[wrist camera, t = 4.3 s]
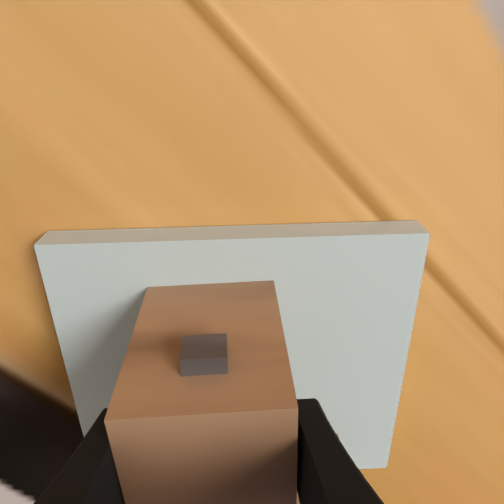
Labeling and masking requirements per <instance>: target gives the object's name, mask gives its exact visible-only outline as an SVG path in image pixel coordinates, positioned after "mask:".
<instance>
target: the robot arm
mask: <svg viewBox="0 0 504 504" xmlns="http://www.w3.org/2000/svg"><path fill="white" fill-rule="evenodd" d="M297 404H298V451H297V493H298V497H299V502H300V504H384V503H383V502H382V500H381V499H380V498H379V497H378V495H377V494H376V493H375V491H374V490H373V488H372V487H371V486H370V484H369V483H368V482H367V480H366V479H365V478H364V476H363V475H362V473H361V472H360V470H359V469H358V468H357V466H356V465H355V463H354V461H353V460H352V458H351V457H350V455H349V454H348V452H347V451H346V449H345V448H344V446H343V445H342V443H341V441H340V440H339V438H338V436H337V435H336V433H335V431H334V430H333V428H332V426H331V424H330V423H329V421H328V419H327V417H326V415H325V413H324V411H323V409H322V407H321V405H320V403H319V401H318V400H317V399H315V398H310V399H297ZM107 409H108V408H105V409H103V410H102V411H101V413H100V414H99V416H98V417H97V419H96V420H95V422H94V423H93V425H92V426H91V428H90V429H89V431H88V432H87V434H86V435H85V437H84V438H83V440H82V441H81V442H80V444H79V445H78V447H77V448H76V450H75V451H74V452H73V454H72V455H71V456H70V458H69V459H68V460H67V462H66V463H65V464H64V466H63V467H62V468H61V470H60V471H59V472H58V474H57V475H56V477H55V478H54V479H53V480H52V482H51V483H50V484H49V485H48V487H47V488H46V489H45V490H44V492H43V493H42V494H41V495H40V496H39V498H38V499H37V500H36V501H35V503H34V504H125V501H124V497H123V493H122V489H121V485H120V482H119V478H118V474H117V470H116V466H115V462H114V458H113V454H112V450H111V446H110V442H109V438H108V435H107V431H106V427H105V423H104V419H105V416H106V413H107Z"/></svg>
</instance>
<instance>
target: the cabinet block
mask: <svg viewBox="0 0 504 504" xmlns="http://www.w3.org/2000/svg"><path fill="white" fill-rule="evenodd" d="M104 423H105V427H106V431H107V435H108V438H109V442H110V446H111V450H112V454H113V458H114V462H115V466H116V470H117V474H118V478H119V482H120V485H121V489H122V493H123V497H124V501H125V504H296V503H297V451H298V404H297V399H296V393H295V388H294V383H293V378H292V373H291V367H290V362H289V357H288V352H287V347H286V342H285V336H284V331H283V326H282V321H281V316H280V311H279V305H278V300H277V295H276V290H275V285H274V280H269V281H251V282H233V283H214V284H196V285H177V286H159V287H147V290H146V293H145V296H144V300H143V303H142V306H141V309H140V312H139V315H138V318H137V321H136V324H135V327H134V330H133V333H132V336H131V339H130V342H129V345H128V348H127V351H126V354H125V358H124V361H123V364H122V367H121V370H120V373H119V376H118V379H117V382H116V385H115V388H114V391H113V394H112V397H111V400H110V403H109V406H108V409H107V413H106V416H105V419H104Z"/></svg>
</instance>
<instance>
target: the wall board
mask: <svg viewBox="0 0 504 504" xmlns="http://www.w3.org/2000/svg"><path fill="white" fill-rule="evenodd" d="M429 237H430V232H429V231H427V230H426V229H425V228H424V227H423V226H422V225H421V224H420V223H419V222H418V221H417V220H406V221H372V222H338V223H304V224H269V225H235V226H201V227H167V228H133V229H99V230H64V231H47V232H46V233H45V234H44V235H43V236H42V237H41V238H40V239H39V240H38V241H37V242H36V243H35V244H34V248H35V252H36V256H37V260H38V264H39V268H40V271H41V275H42V279H43V283H44V287H45V291H46V294H47V298H48V302H49V306H50V310H51V314H52V318H53V321H54V325H55V329H56V333H57V337H58V341H59V344H60V348H61V352H62V356H63V360H64V364H65V367H66V371H67V375H68V379H69V383H70V387H71V391H72V394H73V398H74V402H75V406H76V410H77V414H78V417H79V421H80V425H81V429H82V433H83V437H85V435H86V434H87V432H88V431H89V429H90V428H91V426H92V425H93V423H94V422H95V420H96V419H97V417H98V416H99V414H100V413H101V411H102V410H103V409H105V408H108V406H109V403H110V400H111V397H112V394H113V391H114V388H115V385H116V382H117V379H118V376H119V373H120V370H121V367H122V364H123V361H124V358H125V354H126V351H127V348H128V345H129V342H130V339H131V336H132V333H133V330H134V327H135V324H136V321H137V318H138V315H139V312H140V309H141V306H142V303H143V300H144V296H145V293H146V290H147V287H159V286H177V285H196V284H214V283H233V282H251V281H269V280H274V285H275V290H276V295H277V300H278V305H279V311H280V316H281V321H282V326H283V331H284V336H285V342H286V347H287V352H288V357H289V362H290V367H291V373H292V378H293V383H294V388H295V393H296V399H310V398H315V399H317V400H318V401H319V403H320V405H321V407H322V409H323V411H324V413H325V415H326V417H327V419H328V421H329V423H330V424H331V426H332V428H333V430H334V431H335V433H336V435H337V436H338V438H339V440H340V441H341V443H342V445H343V446H344V448H345V449H346V451H347V452H348V454H349V455H350V457H351V458H352V460H353V461H354V463H355V465H356V466H357V468H358V469H370V468H387V463H388V457H389V452H390V447H391V441H392V436H393V431H394V425H395V420H396V414H397V409H398V404H399V398H400V393H401V387H402V382H403V377H404V371H405V366H406V361H407V355H408V350H409V344H410V339H411V334H412V328H413V323H414V317H415V312H416V307H417V301H418V296H419V291H420V285H421V280H422V274H423V269H424V264H425V258H426V253H427V247H428V242H429ZM296 504H300V502H299V497H298V493H297V503H296Z"/></svg>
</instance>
